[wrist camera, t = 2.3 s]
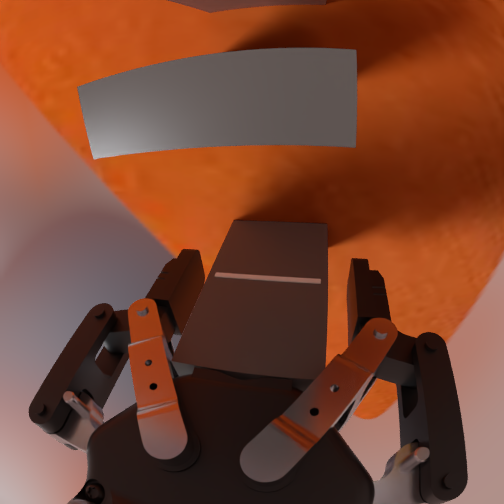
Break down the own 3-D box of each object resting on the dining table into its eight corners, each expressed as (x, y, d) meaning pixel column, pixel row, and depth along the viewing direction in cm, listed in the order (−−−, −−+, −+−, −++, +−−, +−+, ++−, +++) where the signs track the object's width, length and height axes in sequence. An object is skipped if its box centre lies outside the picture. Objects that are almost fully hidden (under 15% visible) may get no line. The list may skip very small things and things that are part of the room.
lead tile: (233, 219, 17) (170, 359, 10) (327, 222, 16) (324, 379, 8) (236, 245, 18) (183, 384, 10) (325, 249, 17) (319, 402, 10)
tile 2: (214, 58, 12) (76, 84, 4) (328, 53, 11) (356, 46, 3) (218, 93, 13) (93, 161, 5) (330, 90, 12) (355, 150, 4)
